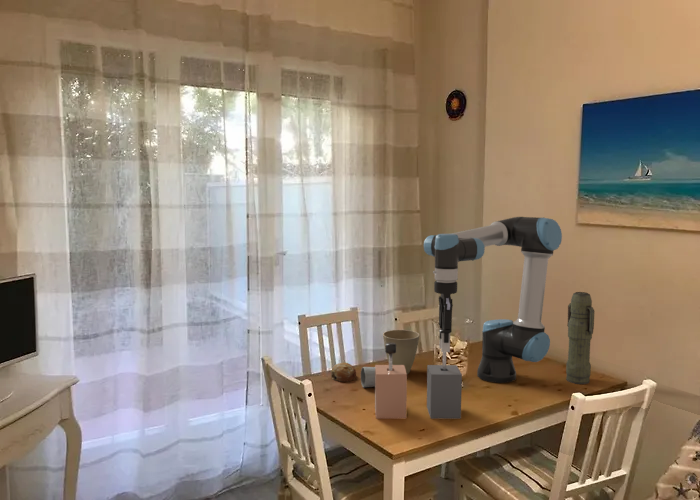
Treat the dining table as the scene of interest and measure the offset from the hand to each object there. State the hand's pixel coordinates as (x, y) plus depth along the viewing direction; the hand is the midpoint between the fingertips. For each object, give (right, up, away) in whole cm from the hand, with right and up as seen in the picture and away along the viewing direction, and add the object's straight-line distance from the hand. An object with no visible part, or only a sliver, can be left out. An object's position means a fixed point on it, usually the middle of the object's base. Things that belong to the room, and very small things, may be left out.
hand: (444, 349), depth 193 cm
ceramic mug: (-23, -19, +30) cm, 42 cm away
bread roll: (-34, -18, +38) cm, 54 cm away
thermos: (+58, -18, +35) cm, 70 cm away
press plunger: (-18, -20, +2) cm, 27 cm away
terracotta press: (-18, -22, +4) cm, 28 cm away
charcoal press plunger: (0, -15, +2) cm, 16 cm away
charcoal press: (0, -22, +4) cm, 22 cm away
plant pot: (-11, -17, +45) cm, 50 cm away
